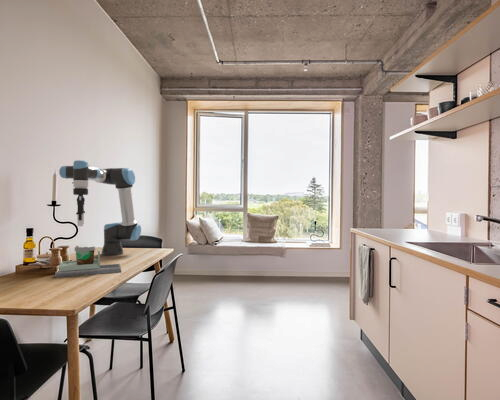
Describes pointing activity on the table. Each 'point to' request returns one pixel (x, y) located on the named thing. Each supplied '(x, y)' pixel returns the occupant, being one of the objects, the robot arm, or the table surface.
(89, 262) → the food container
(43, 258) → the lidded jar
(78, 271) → the grey board
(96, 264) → the pale green tray
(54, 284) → the table surface
